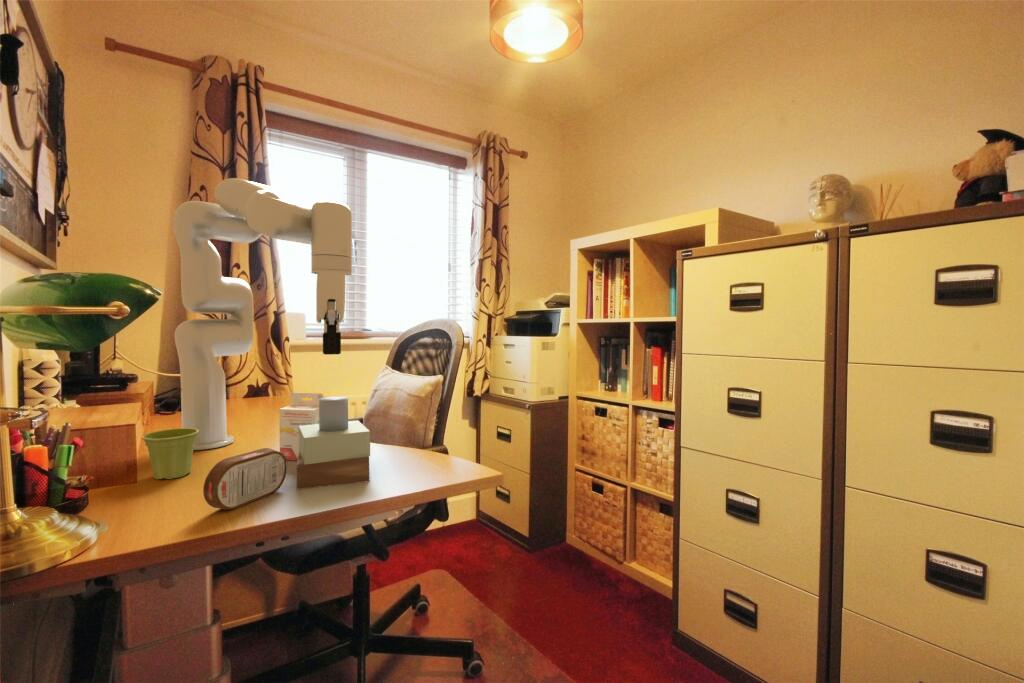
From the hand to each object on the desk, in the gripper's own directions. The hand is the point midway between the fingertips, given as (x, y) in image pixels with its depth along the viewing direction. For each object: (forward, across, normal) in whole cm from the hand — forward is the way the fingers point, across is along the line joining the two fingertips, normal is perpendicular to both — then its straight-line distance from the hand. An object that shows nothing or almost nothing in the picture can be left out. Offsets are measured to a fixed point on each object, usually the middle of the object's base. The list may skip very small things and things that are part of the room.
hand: (332, 352), depth 98 cm
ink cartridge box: (+25, -16, -7) cm, 30 cm away
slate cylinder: (+15, 0, 0) cm, 15 cm away
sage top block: (+20, 0, 0) cm, 20 cm away
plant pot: (+26, -11, -31) cm, 41 cm away
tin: (+25, +10, -14) cm, 30 cm away
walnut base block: (+25, 0, 0) cm, 25 cm away
